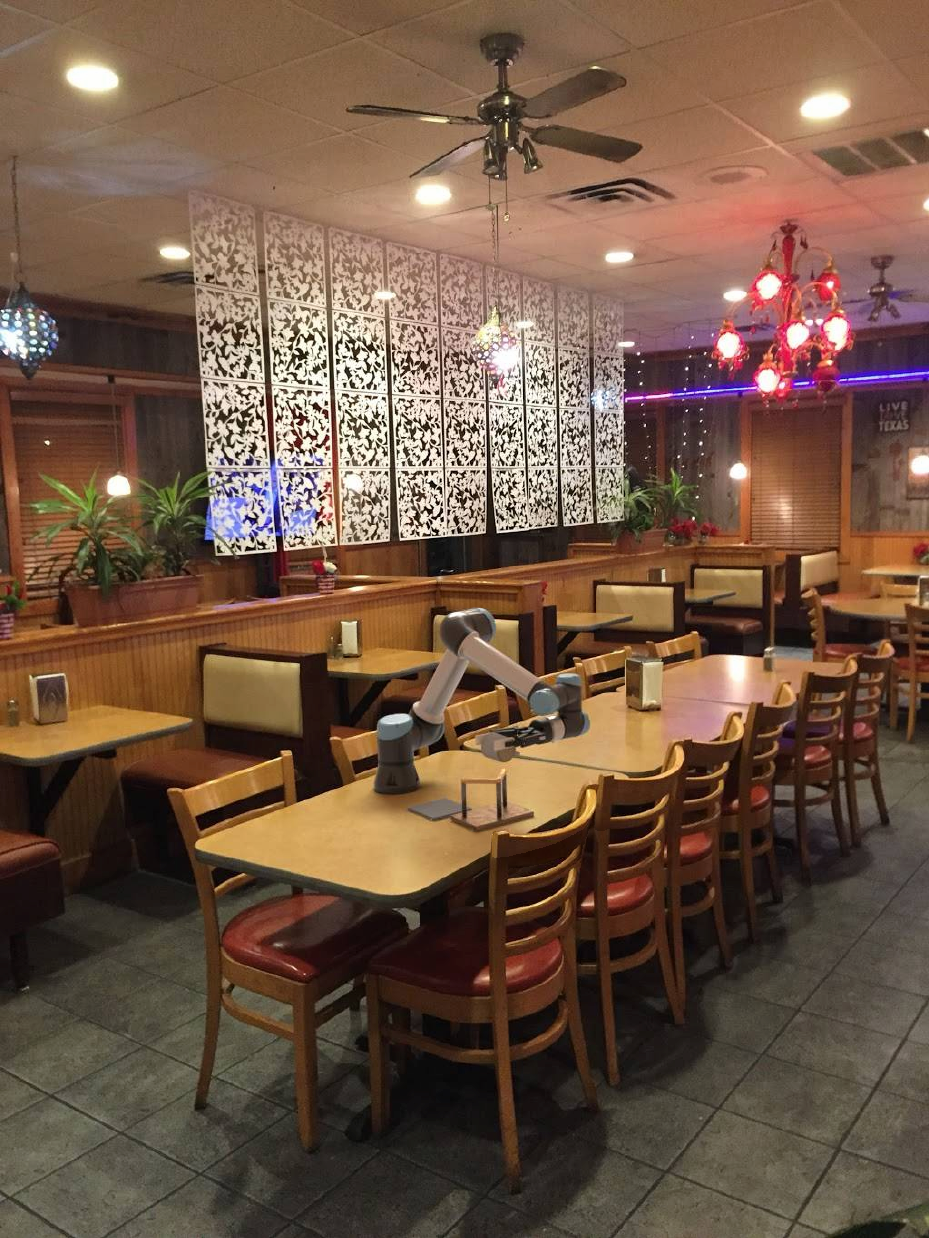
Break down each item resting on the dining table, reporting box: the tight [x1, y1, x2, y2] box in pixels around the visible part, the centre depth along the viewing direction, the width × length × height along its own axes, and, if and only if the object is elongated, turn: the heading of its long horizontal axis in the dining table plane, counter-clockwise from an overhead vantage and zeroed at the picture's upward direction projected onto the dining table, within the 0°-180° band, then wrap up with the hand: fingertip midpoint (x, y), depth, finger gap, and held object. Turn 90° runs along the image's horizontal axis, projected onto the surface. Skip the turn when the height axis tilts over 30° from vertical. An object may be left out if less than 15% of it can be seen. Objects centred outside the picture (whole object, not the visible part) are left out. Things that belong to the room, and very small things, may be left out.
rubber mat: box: [407, 797, 473, 821], centre depth 301 cm, size 14×14×1 cm
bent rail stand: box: [449, 768, 535, 832], centre depth 291 cm, size 13×21×13 cm, turn 126°
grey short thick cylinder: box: [480, 731, 521, 763], centre depth 288 cm, size 11×8×8 cm
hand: (485, 743), depth 284 cm, fingers closed on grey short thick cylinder, 8 cm apart
